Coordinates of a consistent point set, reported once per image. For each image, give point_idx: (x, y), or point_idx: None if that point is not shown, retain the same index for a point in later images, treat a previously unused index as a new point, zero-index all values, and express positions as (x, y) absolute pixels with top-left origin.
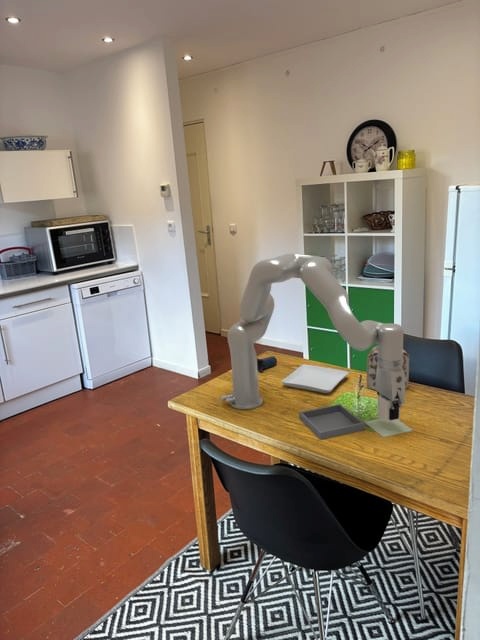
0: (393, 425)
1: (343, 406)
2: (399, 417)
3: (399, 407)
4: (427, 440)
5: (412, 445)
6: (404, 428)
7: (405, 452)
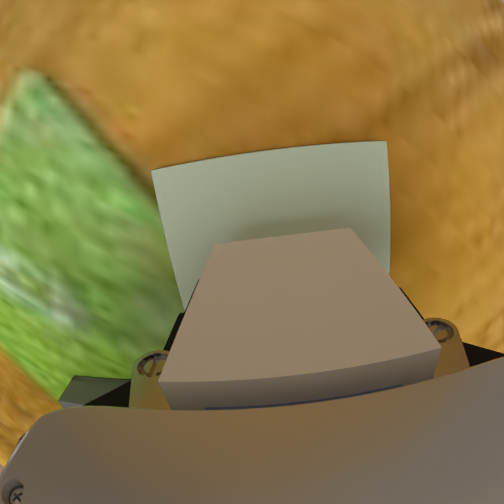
0: (290, 230)
1: (82, 405)
2: (352, 235)
3: (447, 330)
4: (471, 126)
5: (479, 228)
6: (350, 181)
7: (496, 285)
